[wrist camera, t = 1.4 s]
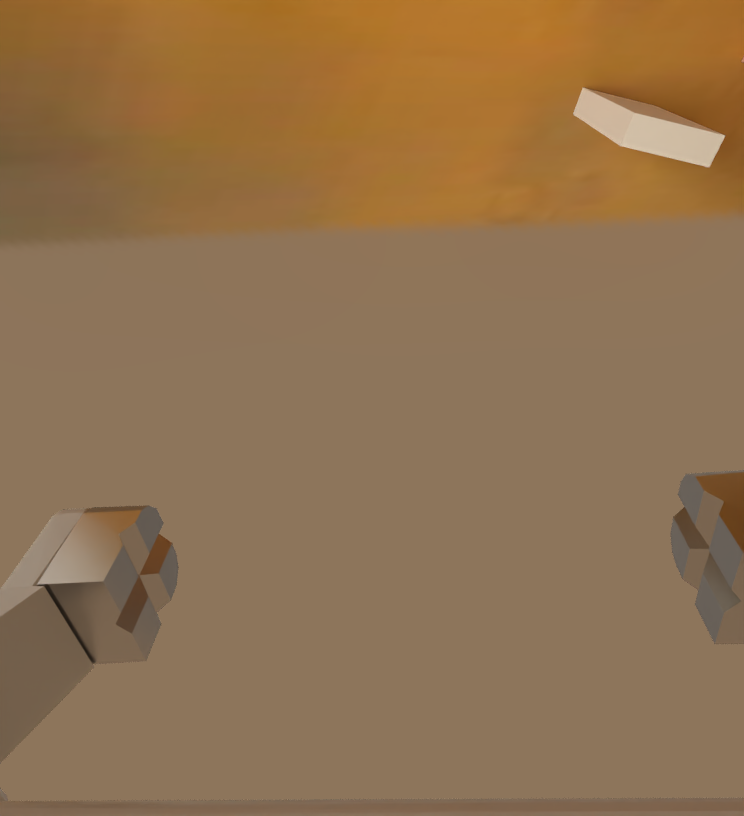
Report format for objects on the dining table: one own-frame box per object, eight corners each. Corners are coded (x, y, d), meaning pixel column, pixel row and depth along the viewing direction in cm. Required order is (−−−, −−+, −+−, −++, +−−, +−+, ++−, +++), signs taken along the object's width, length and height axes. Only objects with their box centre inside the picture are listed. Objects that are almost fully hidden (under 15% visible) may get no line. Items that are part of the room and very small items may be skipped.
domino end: (583, 87, 38) (634, 112, 30) (655, 105, 39) (725, 135, 31) (573, 114, 39) (620, 145, 31) (644, 131, 40) (709, 167, 32)
